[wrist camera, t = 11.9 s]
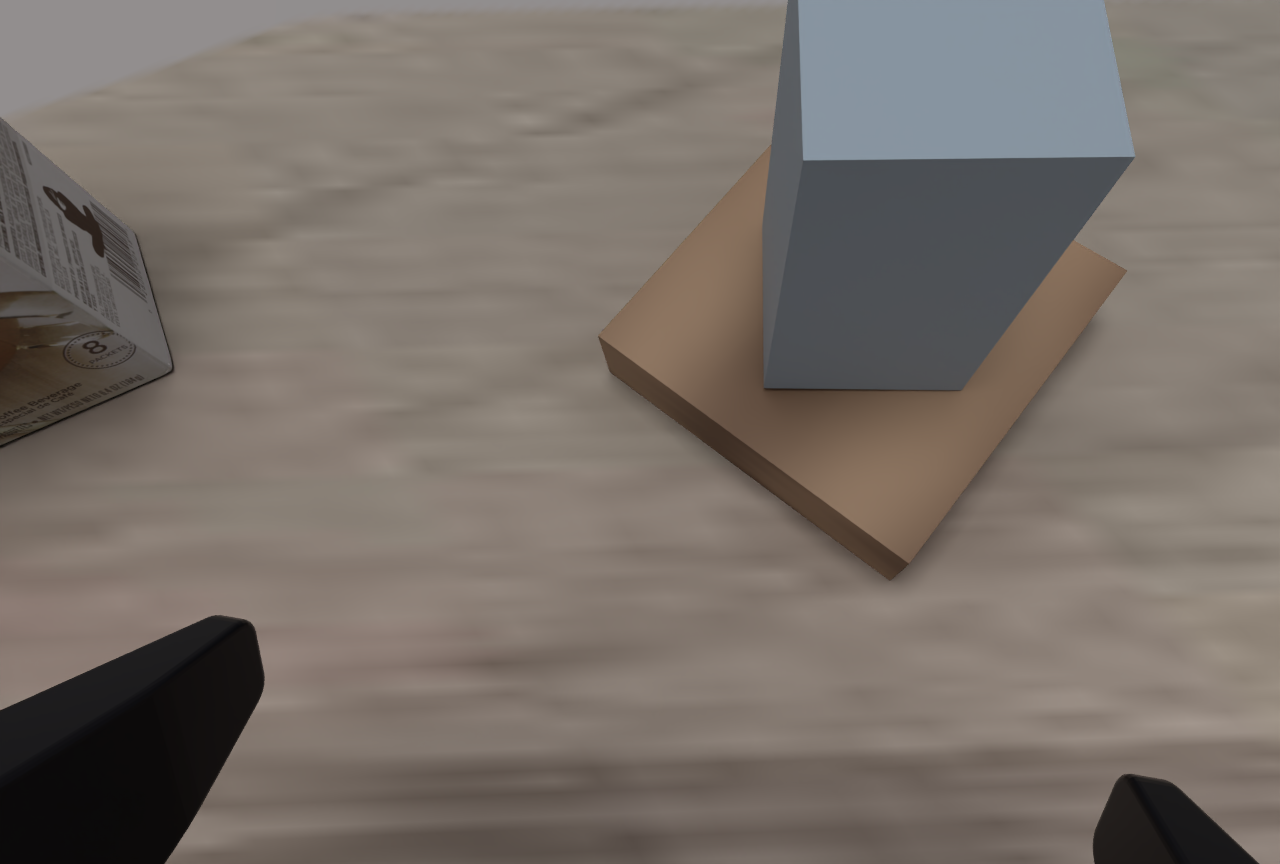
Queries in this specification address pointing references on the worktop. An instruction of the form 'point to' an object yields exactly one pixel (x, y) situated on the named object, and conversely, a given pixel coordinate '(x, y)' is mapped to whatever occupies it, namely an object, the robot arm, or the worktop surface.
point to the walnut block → (833, 418)
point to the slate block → (928, 180)
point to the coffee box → (66, 297)
